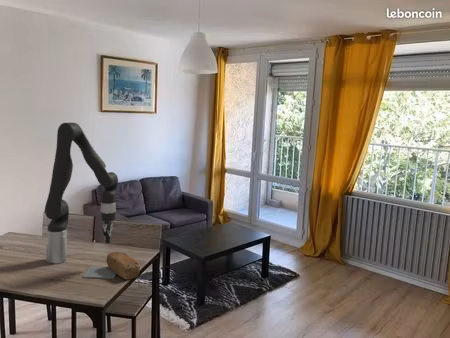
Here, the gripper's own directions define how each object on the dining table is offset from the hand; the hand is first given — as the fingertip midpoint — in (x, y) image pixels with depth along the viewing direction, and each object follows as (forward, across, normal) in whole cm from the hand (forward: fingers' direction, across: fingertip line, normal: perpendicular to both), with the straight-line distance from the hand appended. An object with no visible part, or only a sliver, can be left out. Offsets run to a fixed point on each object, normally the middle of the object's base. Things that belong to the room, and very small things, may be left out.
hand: (107, 242), depth 197 cm
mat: (+13, +8, 0) cm, 16 cm away
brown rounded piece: (+8, -1, +3) cm, 9 cm away
